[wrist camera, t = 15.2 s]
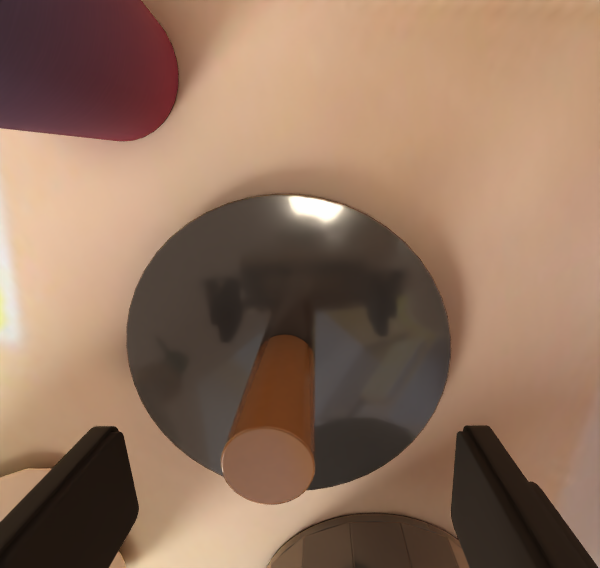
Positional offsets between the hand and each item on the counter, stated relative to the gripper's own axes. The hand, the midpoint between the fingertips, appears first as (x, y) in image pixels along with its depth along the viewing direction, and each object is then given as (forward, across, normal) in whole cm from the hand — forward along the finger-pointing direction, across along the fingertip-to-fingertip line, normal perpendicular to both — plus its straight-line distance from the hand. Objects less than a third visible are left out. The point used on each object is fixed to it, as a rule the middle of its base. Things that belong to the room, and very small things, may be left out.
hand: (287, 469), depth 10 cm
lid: (+6, +1, 0) cm, 6 cm away
